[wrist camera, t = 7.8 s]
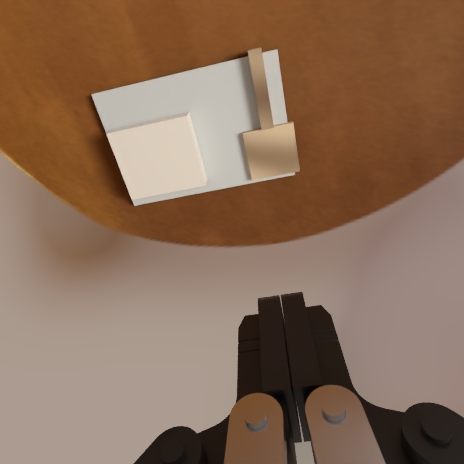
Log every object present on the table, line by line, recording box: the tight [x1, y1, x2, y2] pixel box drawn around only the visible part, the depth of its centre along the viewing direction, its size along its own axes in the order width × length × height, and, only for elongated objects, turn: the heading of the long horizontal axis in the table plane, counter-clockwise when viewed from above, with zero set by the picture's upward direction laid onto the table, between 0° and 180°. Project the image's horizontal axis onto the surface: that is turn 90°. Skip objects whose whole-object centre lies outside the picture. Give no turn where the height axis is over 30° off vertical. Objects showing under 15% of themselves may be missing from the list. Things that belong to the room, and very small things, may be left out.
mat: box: [91, 49, 295, 206], centre depth 36 cm, size 12×18×1 cm, turn 102°
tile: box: [106, 112, 208, 200], centre depth 36 cm, size 7×2×8 cm
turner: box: [242, 47, 300, 180], centre depth 34 cm, size 12×5×1 cm, turn 12°
